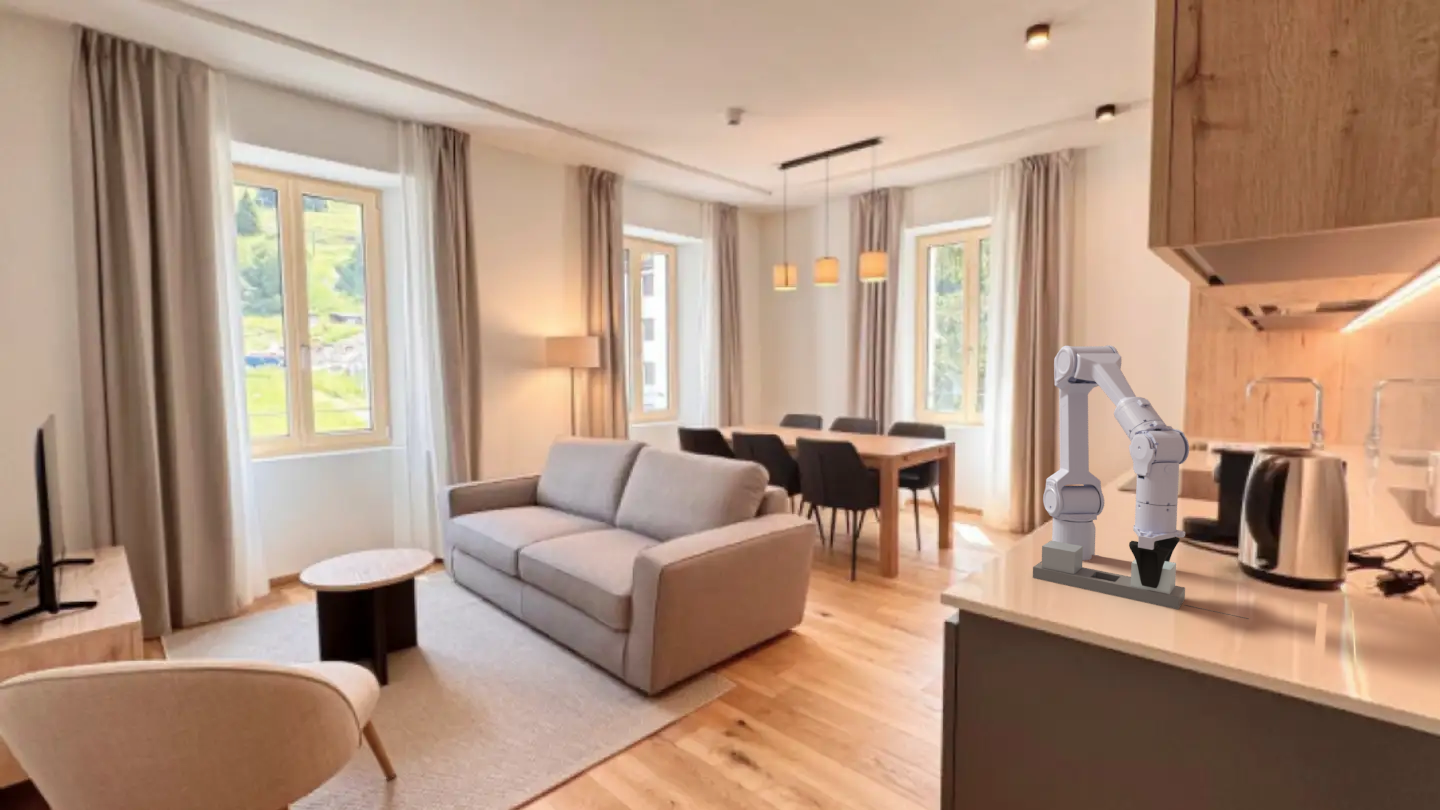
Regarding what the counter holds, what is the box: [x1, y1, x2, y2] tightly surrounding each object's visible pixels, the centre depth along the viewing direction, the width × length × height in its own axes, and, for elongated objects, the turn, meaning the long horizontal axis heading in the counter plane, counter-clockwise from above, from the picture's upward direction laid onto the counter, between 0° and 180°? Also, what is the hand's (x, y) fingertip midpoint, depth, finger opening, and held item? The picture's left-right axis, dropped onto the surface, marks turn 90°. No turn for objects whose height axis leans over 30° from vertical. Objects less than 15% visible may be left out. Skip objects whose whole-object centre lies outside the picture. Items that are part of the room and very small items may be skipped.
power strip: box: [1032, 540, 1250, 620], centre depth 109 cm, size 6×30×7 cm, turn 46°
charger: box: [1130, 559, 1177, 594], centre depth 107 cm, size 5×5×6 cm
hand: (1153, 582), depth 107 cm, fingers closed on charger, 5 cm apart
